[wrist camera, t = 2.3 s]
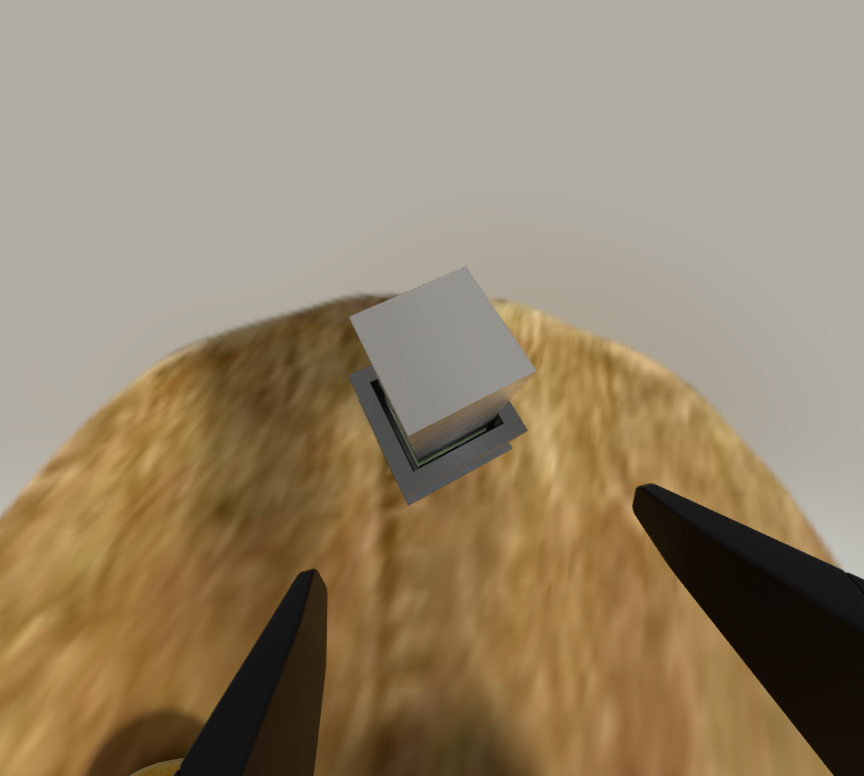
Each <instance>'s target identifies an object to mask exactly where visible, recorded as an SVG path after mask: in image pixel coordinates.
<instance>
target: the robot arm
mask: <svg viewBox="0 0 864 776" xmlns="http://www.w3.org/2000/svg"><path fill="white" fill-rule="evenodd" d="M632 508H633V512H634V514H635V516H636V517H637V519H638V520H639V522H640V523H641V525H642V526H643V528H644V529H645V531H646V532H647V534H648V535H649V537H650V539H651V540H652V542H653V543H654V545H655V546H656V548H657V549H658V551H659V552H660V554H661V555H662V557H663V558H664V560H665V561H666V563H667V564H668V565H669V567H670V568H671V570H672V571H673V572H674V574H675V575H676V576H677V578H678V579H679V580H680V581H681V583H682V584H683V585H684V586H685V588H686V589H687V590H688V591H689V593H690V594H691V595H692V597H693V598H694V599H695V600H696V602H697V603H698V604H699V605H700V607H701V608H702V609H703V610H704V612H705V613H706V614H707V616H708V617H709V618H710V619H711V621H712V622H713V623H714V624H715V626H716V627H717V628H718V630H719V631H720V632H721V633H722V635H723V636H724V637H725V638H726V640H727V641H728V642H729V643H730V645H731V646H732V647H733V649H734V650H735V651H736V652H737V654H738V655H739V656H740V657H741V659H742V660H743V661H744V662H745V664H746V665H747V666H748V668H749V669H750V670H751V671H752V673H753V674H754V675H755V676H756V678H757V679H758V680H759V682H760V683H761V684H762V685H763V687H764V688H765V689H766V690H767V692H768V693H769V694H770V695H771V697H772V698H773V699H774V701H775V702H776V703H777V704H778V706H779V707H780V708H781V709H782V711H783V712H784V713H785V714H786V716H787V717H788V718H789V720H790V721H791V722H792V723H793V725H794V726H795V727H796V728H797V730H798V731H799V732H800V734H801V735H802V736H803V737H804V739H805V740H806V741H807V742H808V744H809V745H810V746H811V747H812V749H813V750H814V751H815V753H816V754H817V755H818V756H819V758H820V759H821V760H822V761H823V763H824V764H825V765H826V766H827V768H828V769H829V770H830V772H831V773H832V774H833V775H834V776H864V579H862V578H859V577H857V576H855V575H853V574H851V573H845V572H844V571H843V570H842V569H840V568H837V567H835V566H833V565H831V564H829V563H826V562H824V561H822V560H820V559H818V558H815V557H813V556H811V555H809V554H807V553H805V552H802V551H800V550H798V549H796V548H794V547H791V546H789V545H787V544H785V543H783V542H780V541H778V540H776V539H774V538H772V537H769V536H767V535H765V534H763V533H761V532H759V531H756V530H754V529H752V528H750V527H748V526H745V525H743V524H741V523H739V522H737V521H734V520H732V519H730V518H728V517H726V516H724V515H721V514H719V513H717V512H715V511H713V510H710V509H708V508H706V507H704V506H702V505H699V504H697V503H695V502H693V501H691V500H689V499H686V498H684V497H682V496H680V495H678V494H675V493H673V492H671V491H669V490H667V489H664V488H662V487H660V486H658V485H656V484H652V483H649V484H644V485H641V486H638V487H637V488H636V490H635V495H634V500H633V505H632ZM326 647H327V588H326V585H325V583H324V581H323V580H322V578H321V576H320V574H319V572H318V570H316V569H310V570H307V571H303V572H301V573H299V574H298V576H297V577H296V579H295V580H294V582H293V584H292V585H291V587H290V588H289V590H288V592H287V593H286V595H285V596H284V598H283V600H282V601H281V603H280V604H279V606H278V608H277V609H276V611H275V613H274V614H273V616H272V617H271V619H270V621H269V622H268V624H267V625H266V627H265V629H264V630H263V632H262V633H261V635H260V637H259V638H258V640H257V641H256V643H255V645H254V646H253V648H252V650H251V651H250V653H249V654H248V656H247V658H246V659H245V661H244V662H243V664H242V666H241V667H240V669H239V670H238V672H237V674H236V675H235V677H234V679H233V680H232V682H231V683H230V685H229V687H228V688H227V690H226V691H225V693H224V695H223V696H222V698H221V699H220V701H219V703H218V704H217V706H216V708H215V709H214V711H213V712H212V714H211V716H210V717H209V719H208V720H207V722H206V724H205V725H204V727H203V728H202V730H201V732H200V733H199V735H198V737H197V738H196V740H195V741H194V743H193V745H192V746H191V748H190V749H189V751H188V753H187V754H186V756H185V757H184V759H183V761H182V762H181V764H180V768H179V770H177V771H176V772H175V773H174V775H173V776H314V769H315V760H316V751H317V742H318V733H319V724H320V715H321V706H322V698H323V689H324V680H325V669H326Z"/></svg>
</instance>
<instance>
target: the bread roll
mask: <svg viewBox="0 0 864 776" xmlns="http://www.w3.org/2000/svg"><path fill="white" fill-rule="evenodd" d="M183 759H184V758H182V759H174V760H169V761H164V762H158V763H156V764H153V765H150V766H147V767H145V768H143V769H140V770H138V771H137V772H135V773H133V774H131V775H129V776H173V775H174V773H175V772H176V771H177V770H179V768H180V764H181V762H182V761H183Z"/></svg>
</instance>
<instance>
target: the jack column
mask: <svg viewBox="0 0 864 776" xmlns="http://www.w3.org/2000/svg"><path fill="white" fill-rule="evenodd" d="M349 318H350V320H351V322H352V324H353V327H354V329H355V331H356V333H357V335H358V338H359V340H360V342H361V344H362V346H363V348H364V351H365V353H366V355H367V357H368V359H369V362H370V364H371V366H372V368H373V370H374V372H375V375H376V377H377V379H378V381H379V383H380V386H381V388H382V390H383V392H384V394H385V396H386V398H384V399H385V401H386V403H387V405H388V407H389V409H390V411H391V413H392V415H393V417H394V419H395V421H396V423H397V425H398V427H399V429H400V431H401V433H402V435H403V437H404V439H405V441H406V444H407V446H408V448H409V450H410V452H411V454H412V456H413V458H414V460H415V462H416V464H417V466H418V468H419V467H422V466H423V465H425V464H427V463H429V462H431V461H433V460H435V459H437V458H439V457H440V456H442V455H444V454H446V453H448V452H450V451H452V450H454V449H455V448H457V447H459V446H461V445H463V444H465V443H467V442H469V441H471V440H472V439H474V438H476V437H478V436H479V435H481V434H483V433H485V432H486V430H487V429H486V427H487V426H488V425H489V423H490V422H491V421H492V420H493V419H494V418H495V417H496V416H497V414H498V413H499V412H500V411H501V410H502V409H503V408H504V407H505V405H506V404H507V403H508V402H509V401H510V400H511V399H512V398H513V396H514V395H515V394H516V393H517V392H518V391H519V390H520V388H521V387H522V386H523V385H524V384H525V383H526V382H527V381H528V379H529V378H530V377H531V376H532V375H533V374H534V373H535V372H536V370H535V368H534V367H533V365H532V364H531V362H530V361H529V359H528V358H527V356H526V355H525V353H524V352H523V350H522V349H521V347H520V346H519V344H518V343H517V341H516V340H515V338H514V337H513V335H512V334H511V332H510V331H509V329H508V328H507V326H506V325H505V323H504V322H503V320H502V319H501V317H500V316H499V314H498V313H497V311H496V310H495V308H494V307H493V306H492V304H491V303H490V301H489V300H488V298H487V297H486V295H485V294H484V292H483V291H482V289H481V288H480V286H479V285H478V283H477V282H476V280H475V279H474V277H473V276H472V275H471V273H470V271H469V270H468V268H467V267H463V268H461V269H459V270H457V271H454V272H452V273H449V274H447V275H445V276H443V277H440V278H438V279H436V280H433V281H431V282H429V283H426V284H424V285H422V286H419V287H417V288H415V289H412V290H410V291H408V292H405V293H403V294H401V295H398V296H396V297H394V298H391V299H389V300H387V301H384V302H382V303H380V304H378V305H375V306H373V307H371V308H368V309H366V310H364V311H361V312H359V313H357V314H354V315H352V316H350V317H349Z"/></svg>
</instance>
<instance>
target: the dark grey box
mask: <svg viewBox="0 0 864 776" xmlns="http://www.w3.org/2000/svg"><path fill="white" fill-rule="evenodd" d="M349 378H350V381H351V383H352V385H353V387H354V389H355V391H356V393H357V396H358V398H359V401H360V403H361V406H362V408H363V410H364V412H365V414H366V416H367V418H368V421H369V423H370V425H371V427H372V429H373V431H374V434H375V436H376V438H377V440H378V442H379V444H380V446H381V449H382V451H383V453H384V455H385V457H386V459H387V461H388V464H389V466H390V468H391V470H392V472H393V474H394V477H395V479H396V481H397V483H398V485H399V487H400V489H401V492H402V494H403V496H404V498H405V500H406V502H407V505H408V506H409V505H410V504H412V503H414V502H416V501H418V500H419V499H421V498H423V497H425V496H427V495H429V494H430V493H432V492H434V491H436V490H438V489H439V488H441V487H443V486H445V485H447V484H449V483H450V482H452V481H454V480H456V479H458V478H459V477H461V476H463V475H465V474H467V473H469V472H470V471H472V470H474V469H476V468H478V467H480V466H481V465H483V464H485V463H487V462H489V461H490V460H492V459H494V458H496V457H498V456H500V455H501V454H503V453H505V452H507V451H509V450H510V449H512V447H511V445H510V443H509V442H510V441H512V440H513V439H515V438H517V437H518V436H520V435H522V434H523V433H525V432H526V431H528V430H527V428H526V427H525V425H524V424H523V422H522V420H521V419H520V417H519V416H518V414H517V412H516V411H515V409H514V407H513V406H512V404H511V403H510V401H509V402H508V403H507V404H506V405H505V407H504V408H503V409H502V410H501V411H500V412H499V413H498V414H497V416H496V417H495V418H494V419H493V420H492V421H491V422H490V423H489V425H488V426H487V427H486V429H487V430H486V432H485V433H483V434H481V435H479V436H478V437H476V438H474V439H472V440H471V441H469V442H467V443H465V444H463V445H461V446H459V447H457V448H455V449H454V450H452V451H450V452H448V453H446V454H444V455H442V456H440V457H439V458H437V459H435V460H433V461H431V462H429V463H427V464H425V465H423V466H422V467H419V468H418V466H417V464H416V462H415V460H414V458H413V456H412V454H411V452H410V450H409V448H408V446H407V444H406V441H405V439H404V437H403V435H402V433H401V431H400V429H399V427H398V425H397V423H396V421H395V419H394V417H393V415H392V413H391V411H390V409H389V407H388V405H387V403H386V401H385V399H384V398H386V396H385V394H384V392H383V390H382V388H381V386H380V383H379V381H378V379H377V377H376V375H375V372H374V370H373V368H372V366H371V365H370V366H368V367H366V368H364V369H362V370H359V371H357V372H355V373H353V374H351V375H349Z"/></svg>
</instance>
